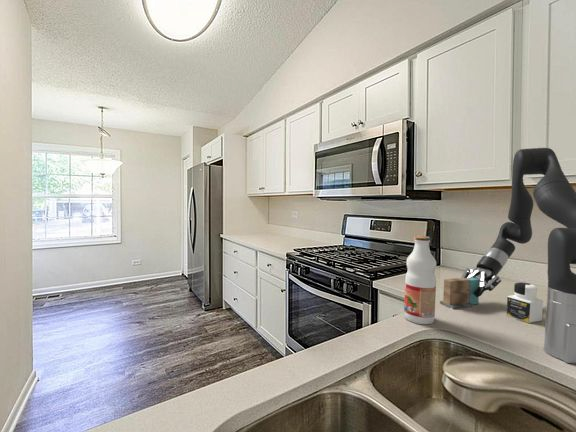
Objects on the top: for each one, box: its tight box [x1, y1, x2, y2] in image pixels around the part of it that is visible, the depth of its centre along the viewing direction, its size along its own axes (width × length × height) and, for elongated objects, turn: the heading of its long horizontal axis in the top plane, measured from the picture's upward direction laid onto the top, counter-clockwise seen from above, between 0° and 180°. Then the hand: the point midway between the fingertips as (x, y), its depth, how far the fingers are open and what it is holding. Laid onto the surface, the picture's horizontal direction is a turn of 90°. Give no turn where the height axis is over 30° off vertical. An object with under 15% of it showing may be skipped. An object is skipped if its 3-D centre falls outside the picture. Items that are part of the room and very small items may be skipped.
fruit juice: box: [403, 235, 437, 325], centre depth 96 cm, size 9×9×28 cm
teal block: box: [466, 277, 481, 305], centre depth 113 cm, size 4×3×10 cm, turn 107°
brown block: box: [439, 277, 473, 310], centre depth 111 cm, size 10×6×10 cm, turn 107°
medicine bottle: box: [506, 282, 544, 324], centre depth 99 cm, size 7×7×12 cm
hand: (468, 293), depth 113 cm, fingers open, 5 cm apart
